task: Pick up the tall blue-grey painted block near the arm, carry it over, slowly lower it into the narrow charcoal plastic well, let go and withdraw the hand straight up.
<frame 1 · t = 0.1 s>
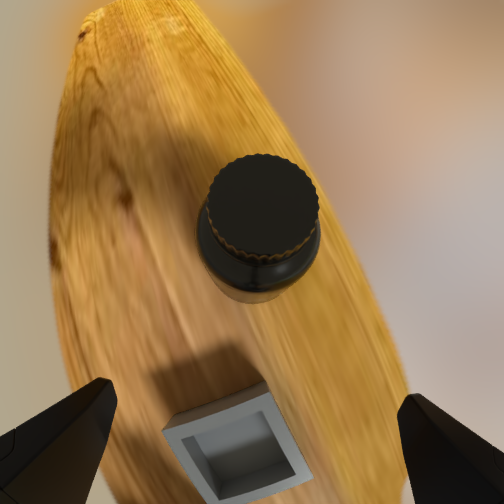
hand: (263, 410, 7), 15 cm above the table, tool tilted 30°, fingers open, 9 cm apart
supplement bottle: (252, 262, 24), on the table
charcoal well: (239, 439, 20), on the table
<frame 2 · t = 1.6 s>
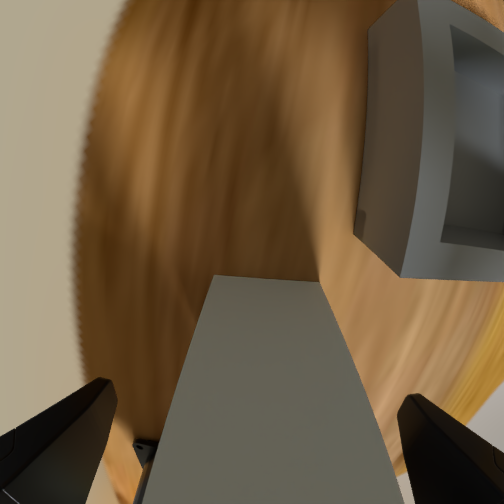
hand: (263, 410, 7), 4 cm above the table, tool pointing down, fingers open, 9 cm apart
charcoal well: (452, 148, 9), on the table
blue-grey block: (262, 323, 12), on the table
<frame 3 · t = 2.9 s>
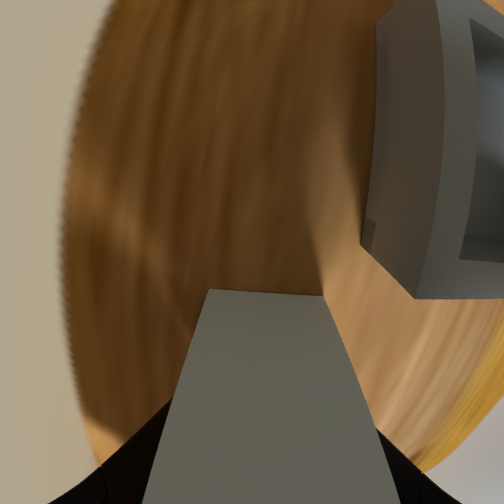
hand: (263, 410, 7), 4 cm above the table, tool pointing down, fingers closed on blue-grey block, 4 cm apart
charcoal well: (465, 151, 8), on the table
blue-grey block: (261, 339, 11), on the table, touching gripper
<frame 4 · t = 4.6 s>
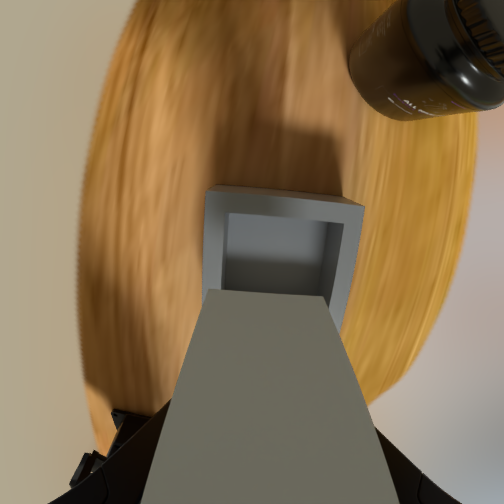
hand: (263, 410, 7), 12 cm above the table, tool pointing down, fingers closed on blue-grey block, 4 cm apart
supplement bottle: (392, 76, 15), on the table
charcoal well: (274, 251, 19), on the table
blue-grey block: (261, 340, 11), point 9 cm above the table, touching gripper
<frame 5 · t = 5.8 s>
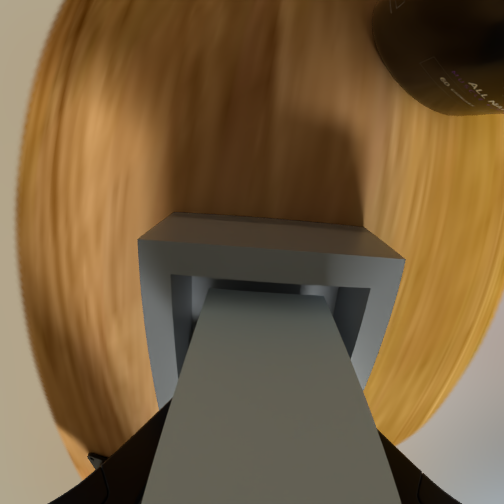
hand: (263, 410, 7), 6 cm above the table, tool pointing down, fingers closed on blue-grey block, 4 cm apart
supplement bottle: (430, 51, 9), on the table
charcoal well: (262, 306, 13), on the table
blue-grey block: (261, 339, 11), point 3 cm above the table, touching gripper
when the fingers open (5 cm above the table, at t = 6.6 s): blue-grey block stays where it is, resting on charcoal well.
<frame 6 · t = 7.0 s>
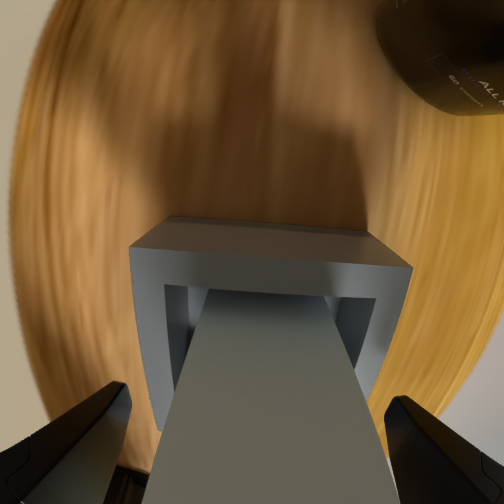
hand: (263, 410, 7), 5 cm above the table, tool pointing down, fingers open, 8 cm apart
supplement bottle: (436, 49, 9), on the table
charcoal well: (262, 313, 13), on the table
blue-grey block: (261, 325, 12), point 1 cm above the table, touching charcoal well
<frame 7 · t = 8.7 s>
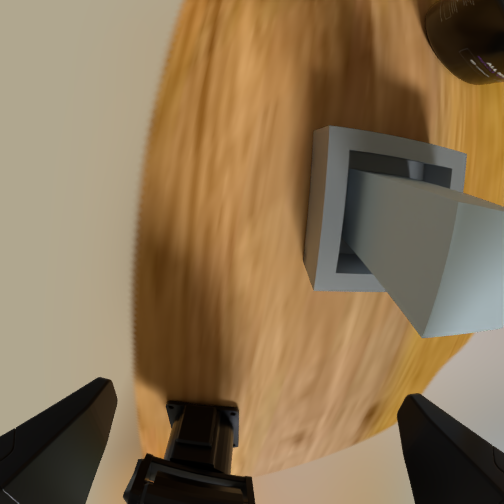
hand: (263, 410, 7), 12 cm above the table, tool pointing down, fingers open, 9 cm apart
supplement bottle: (458, 44, 13), on the table
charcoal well: (371, 203, 17), on the table
blue-grey block: (377, 206, 16), point 1 cm above the table, touching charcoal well
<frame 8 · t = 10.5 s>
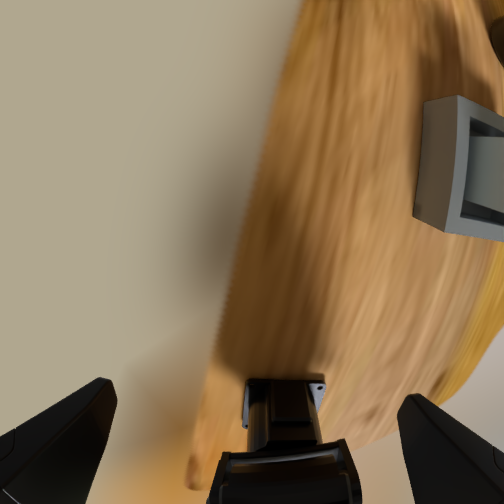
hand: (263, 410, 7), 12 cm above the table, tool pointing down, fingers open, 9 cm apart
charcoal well: (462, 170, 16), on the table
blue-grey block: (470, 171, 15), point 1 cm above the table, touching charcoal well
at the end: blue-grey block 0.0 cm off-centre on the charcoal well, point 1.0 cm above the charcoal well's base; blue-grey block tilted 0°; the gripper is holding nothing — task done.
